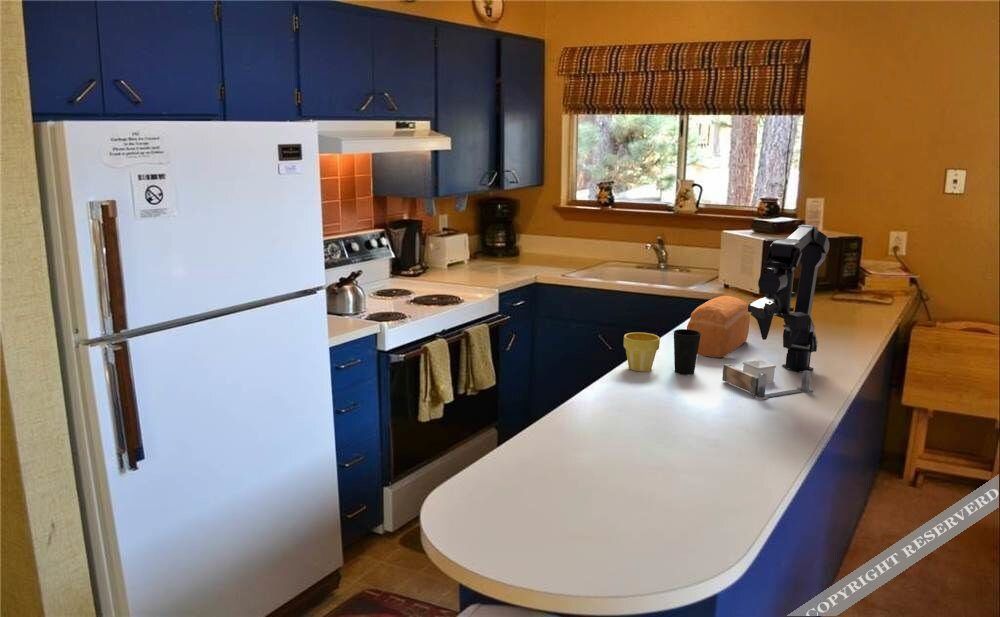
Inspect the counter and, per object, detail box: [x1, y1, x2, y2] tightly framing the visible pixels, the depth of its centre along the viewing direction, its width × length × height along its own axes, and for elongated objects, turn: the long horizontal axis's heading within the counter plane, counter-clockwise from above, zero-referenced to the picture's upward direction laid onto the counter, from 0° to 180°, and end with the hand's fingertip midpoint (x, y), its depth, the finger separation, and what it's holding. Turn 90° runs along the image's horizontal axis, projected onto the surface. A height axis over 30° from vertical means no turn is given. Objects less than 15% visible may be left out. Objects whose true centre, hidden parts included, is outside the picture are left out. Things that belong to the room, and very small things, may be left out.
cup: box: [673, 328, 701, 376], centre depth 237 cm, size 8×8×12 cm
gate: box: [721, 363, 758, 396], centre depth 224 cm, size 13×2×5 cm, turn 25°
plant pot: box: [623, 332, 661, 373], centre depth 240 cm, size 10×10×10 cm
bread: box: [686, 295, 751, 359], centre depth 264 cm, size 14×26×16 cm, turn 147°
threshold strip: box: [765, 388, 803, 399], centre depth 221 cm, size 12×2×1 cm, turn 115°
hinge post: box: [752, 373, 769, 401], centre depth 217 cm, size 4×4×6 cm
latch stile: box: [796, 370, 814, 393], centre depth 224 cm, size 3×3×6 cm
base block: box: [742, 359, 777, 384], centre depth 232 cm, size 6×6×5 cm
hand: (775, 343), depth 224 cm, fingers open, 9 cm apart
